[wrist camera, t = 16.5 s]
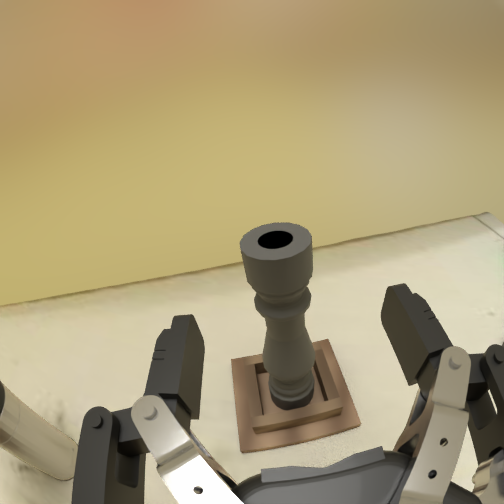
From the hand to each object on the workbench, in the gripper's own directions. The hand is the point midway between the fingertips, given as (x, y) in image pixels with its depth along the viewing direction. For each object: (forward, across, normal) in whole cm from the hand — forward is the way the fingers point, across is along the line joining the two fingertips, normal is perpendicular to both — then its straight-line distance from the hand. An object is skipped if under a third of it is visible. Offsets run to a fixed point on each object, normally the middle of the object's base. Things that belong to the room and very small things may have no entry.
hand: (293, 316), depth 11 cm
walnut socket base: (+10, 0, +29) cm, 31 cm away
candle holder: (+10, -1, +28) cm, 30 cm away
